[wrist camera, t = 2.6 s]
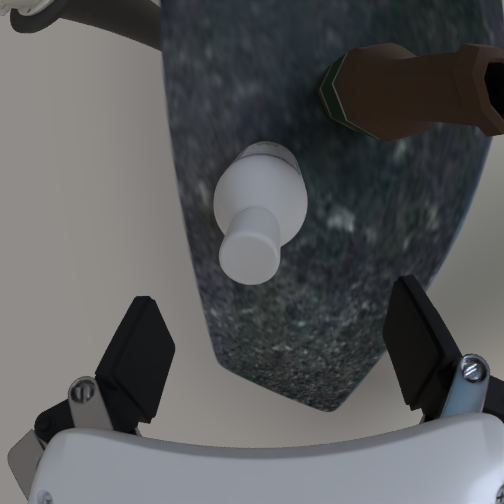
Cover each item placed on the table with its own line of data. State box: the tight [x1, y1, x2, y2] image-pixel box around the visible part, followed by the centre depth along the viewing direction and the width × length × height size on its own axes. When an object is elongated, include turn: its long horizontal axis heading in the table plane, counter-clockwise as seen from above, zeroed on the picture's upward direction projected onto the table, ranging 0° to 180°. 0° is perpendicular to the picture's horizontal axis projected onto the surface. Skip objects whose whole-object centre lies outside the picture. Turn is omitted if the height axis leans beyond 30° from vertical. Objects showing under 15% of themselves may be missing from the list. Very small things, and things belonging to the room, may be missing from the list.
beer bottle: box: [317, 43, 504, 141], centre depth 15 cm, size 8×8×24 cm
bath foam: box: [213, 141, 308, 285], centre depth 21 cm, size 7×7×20 cm
